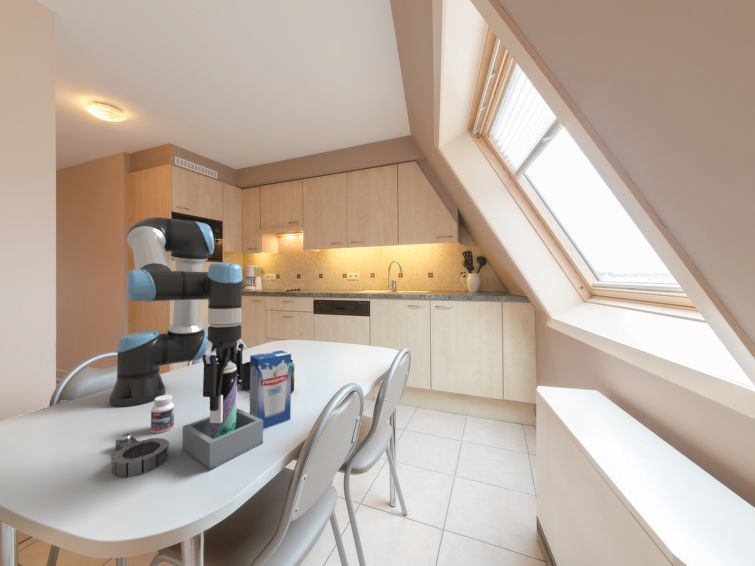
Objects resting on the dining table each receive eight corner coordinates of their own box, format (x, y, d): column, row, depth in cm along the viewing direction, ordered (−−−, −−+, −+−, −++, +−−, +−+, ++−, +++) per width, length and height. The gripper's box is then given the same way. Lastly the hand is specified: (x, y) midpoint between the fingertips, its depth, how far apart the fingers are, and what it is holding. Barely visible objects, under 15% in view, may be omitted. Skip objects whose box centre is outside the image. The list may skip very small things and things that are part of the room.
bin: (182, 450, 70) (182, 426, 70) (234, 428, 81) (234, 407, 81) (209, 470, 63) (210, 443, 63) (262, 443, 74) (263, 420, 74)
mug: (247, 394, 106) (247, 370, 106) (238, 385, 115) (238, 363, 115) (272, 388, 112) (273, 365, 112) (262, 380, 121) (262, 359, 121)
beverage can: (275, 397, 104) (275, 364, 104) (274, 390, 110) (274, 359, 110) (295, 394, 106) (295, 362, 106) (292, 388, 113) (293, 357, 113)
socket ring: (96, 454, 68) (96, 442, 68) (146, 436, 76) (147, 425, 76) (120, 483, 59) (121, 469, 59) (175, 459, 67) (175, 446, 67)
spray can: (209, 443, 69) (209, 360, 69) (214, 431, 74) (214, 354, 74) (234, 439, 70) (235, 358, 70) (237, 428, 76) (238, 353, 76)
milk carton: (281, 412, 91) (281, 350, 91) (290, 419, 87) (291, 353, 87) (249, 423, 84) (250, 355, 84) (257, 431, 80) (258, 359, 80)
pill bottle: (148, 435, 77) (148, 402, 77) (153, 426, 82) (153, 395, 82) (172, 431, 80) (172, 399, 80) (175, 422, 84) (176, 392, 84)
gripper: (231, 319, 82) (230, 400, 82) (183, 330, 63) (182, 435, 63) (257, 320, 81) (256, 401, 81) (216, 331, 63) (215, 436, 63)
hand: (224, 416), depth 72 cm, fingers closed on spray can, 5 cm apart
